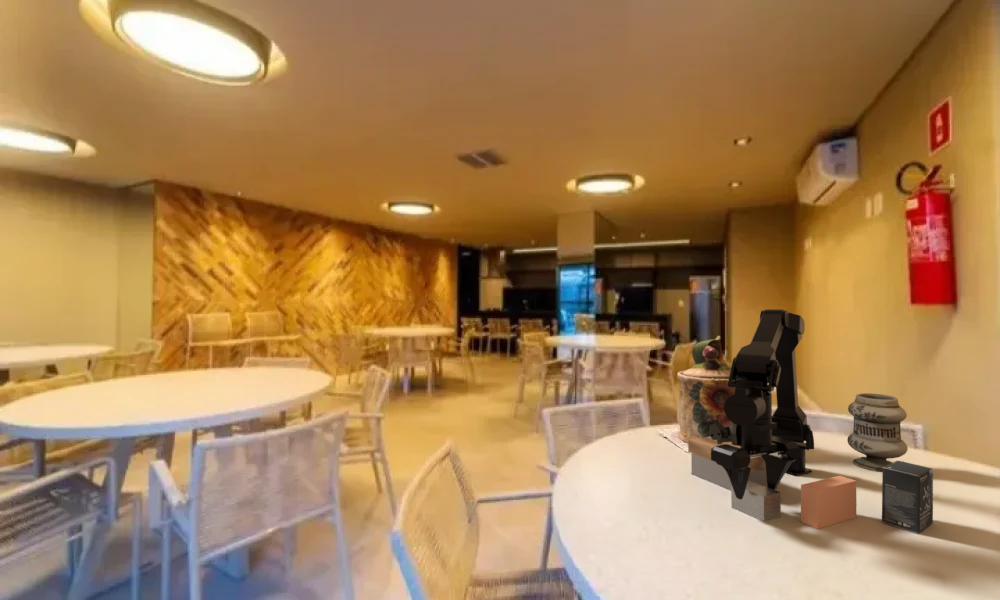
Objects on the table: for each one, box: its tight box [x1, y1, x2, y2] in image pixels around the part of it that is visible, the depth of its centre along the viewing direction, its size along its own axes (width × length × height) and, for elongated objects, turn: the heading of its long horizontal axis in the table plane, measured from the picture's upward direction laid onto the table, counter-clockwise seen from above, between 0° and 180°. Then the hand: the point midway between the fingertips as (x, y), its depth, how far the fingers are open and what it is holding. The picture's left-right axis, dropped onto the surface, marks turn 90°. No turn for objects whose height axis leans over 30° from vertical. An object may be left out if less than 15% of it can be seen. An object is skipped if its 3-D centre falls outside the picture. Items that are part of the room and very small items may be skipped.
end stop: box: [800, 475, 857, 530], centre depth 91 cm, size 12×3×7 cm, turn 114°
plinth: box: [691, 454, 768, 491], centre depth 111 cm, size 10×14×5 cm
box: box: [881, 460, 934, 534], centre depth 90 cm, size 8×6×11 cm
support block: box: [730, 480, 782, 523], centre depth 94 cm, size 5×7×5 cm
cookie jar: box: [657, 335, 739, 456], centre depth 142 cm, size 25×25×32 cm
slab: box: [688, 437, 766, 472], centre depth 111 cm, size 10×16×3 cm, turn 24°
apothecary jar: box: [846, 392, 909, 472], centre depth 122 cm, size 12×12×18 cm
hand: (755, 494), depth 94 cm, fingers open, 9 cm apart
